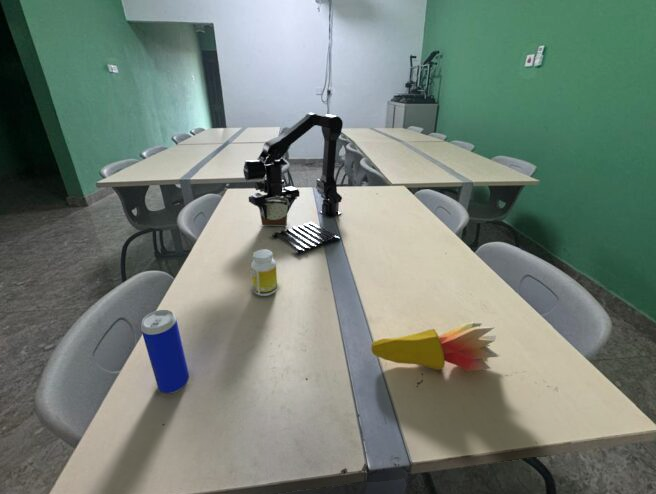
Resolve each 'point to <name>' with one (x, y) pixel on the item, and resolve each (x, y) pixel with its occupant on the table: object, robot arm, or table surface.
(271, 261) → the pill bottle
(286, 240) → the drying rack
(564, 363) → the table surface
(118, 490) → the table surface
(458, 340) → the torch
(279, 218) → the food container
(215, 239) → the table surface
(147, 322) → the beverage can
